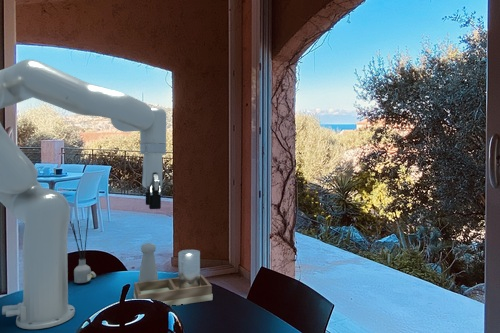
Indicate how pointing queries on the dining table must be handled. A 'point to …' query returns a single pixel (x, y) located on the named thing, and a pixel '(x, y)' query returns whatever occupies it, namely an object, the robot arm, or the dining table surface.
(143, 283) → the divided tray
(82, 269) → the reed diffuser
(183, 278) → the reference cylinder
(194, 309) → the dining table surface
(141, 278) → the salt shaker
